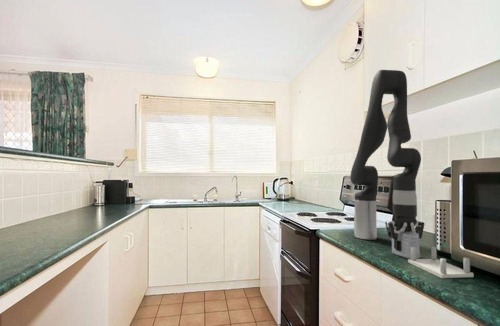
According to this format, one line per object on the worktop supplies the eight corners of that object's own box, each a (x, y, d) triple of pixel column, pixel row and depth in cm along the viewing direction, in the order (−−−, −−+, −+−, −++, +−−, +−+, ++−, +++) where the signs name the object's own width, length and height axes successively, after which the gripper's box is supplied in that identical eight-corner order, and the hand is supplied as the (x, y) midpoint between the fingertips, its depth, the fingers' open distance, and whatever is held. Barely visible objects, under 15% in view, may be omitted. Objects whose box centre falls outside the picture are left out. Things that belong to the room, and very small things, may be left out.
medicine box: (420, 258, 89) (419, 233, 89) (410, 259, 87) (409, 234, 88) (400, 252, 96) (400, 228, 97) (391, 253, 95) (391, 229, 95)
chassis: (408, 262, 85) (407, 247, 85) (435, 261, 86) (435, 246, 86) (441, 278, 72) (441, 260, 72) (473, 276, 73) (473, 259, 73)
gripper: (414, 201, 97) (415, 247, 97) (379, 201, 96) (380, 248, 95) (431, 204, 90) (431, 253, 89) (393, 204, 88) (393, 254, 87)
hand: (405, 250), depth 92 cm, fingers closed on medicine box, 5 cm apart
